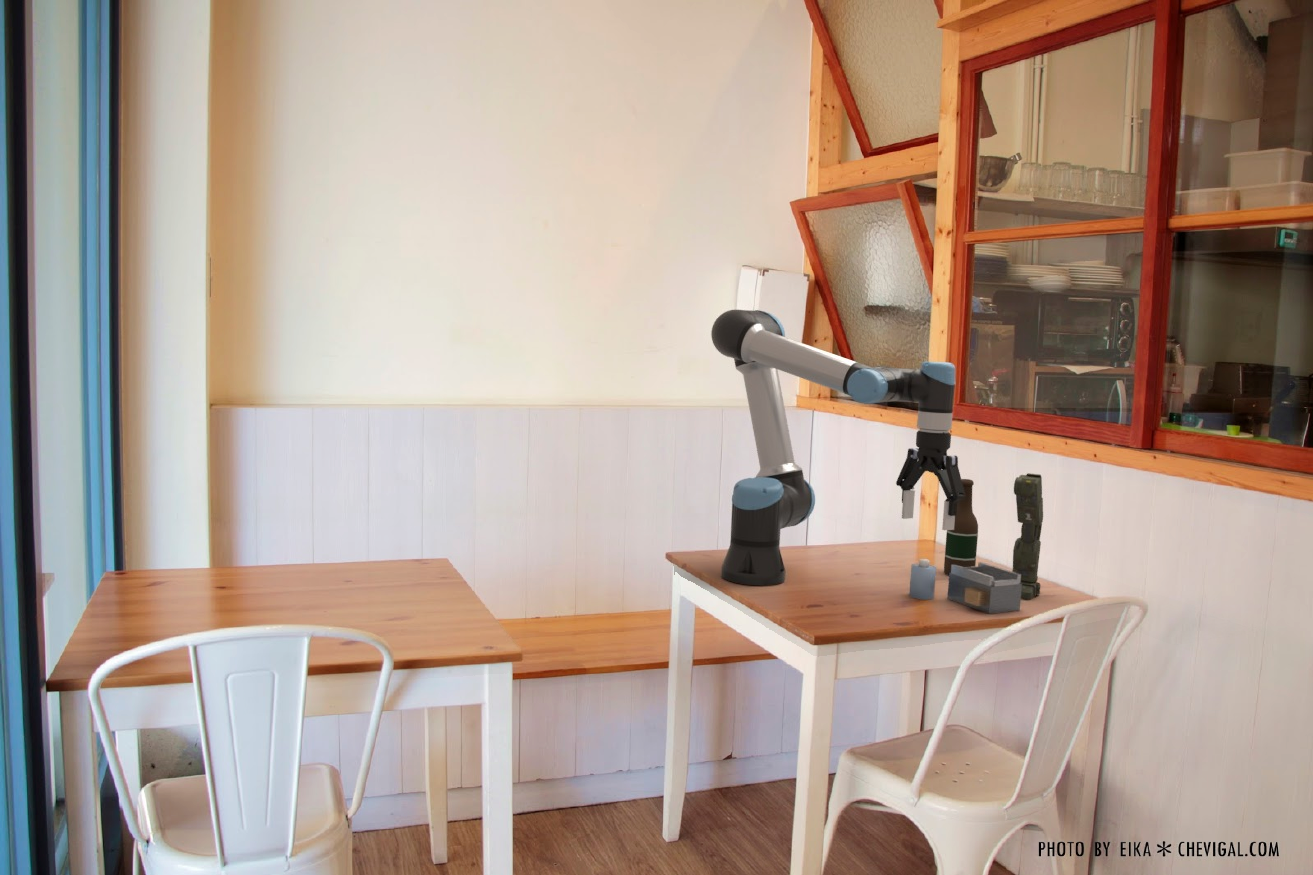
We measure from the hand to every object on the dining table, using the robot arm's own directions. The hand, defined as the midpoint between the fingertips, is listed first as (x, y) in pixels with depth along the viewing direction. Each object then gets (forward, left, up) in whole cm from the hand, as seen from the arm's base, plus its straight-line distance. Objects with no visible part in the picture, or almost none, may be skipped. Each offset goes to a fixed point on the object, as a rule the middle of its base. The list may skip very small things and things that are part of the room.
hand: (927, 524), depth 239 cm
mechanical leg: (+6, +25, -17) cm, 31 cm away
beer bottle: (-14, +24, -17) cm, 32 cm away
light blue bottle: (0, 0, -17) cm, 17 cm away
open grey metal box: (+9, +8, -17) cm, 21 cm away
